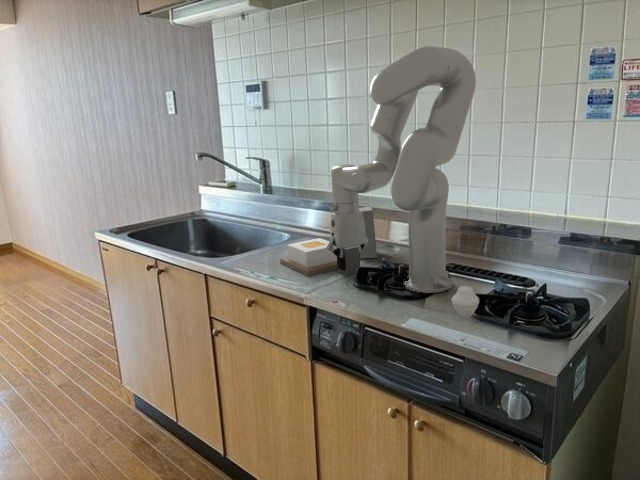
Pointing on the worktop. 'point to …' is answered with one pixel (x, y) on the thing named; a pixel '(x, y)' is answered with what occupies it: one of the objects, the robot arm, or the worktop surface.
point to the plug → (351, 260)
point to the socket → (310, 258)
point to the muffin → (465, 301)
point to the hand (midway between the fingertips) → (349, 266)
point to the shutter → (312, 245)
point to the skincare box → (369, 234)
